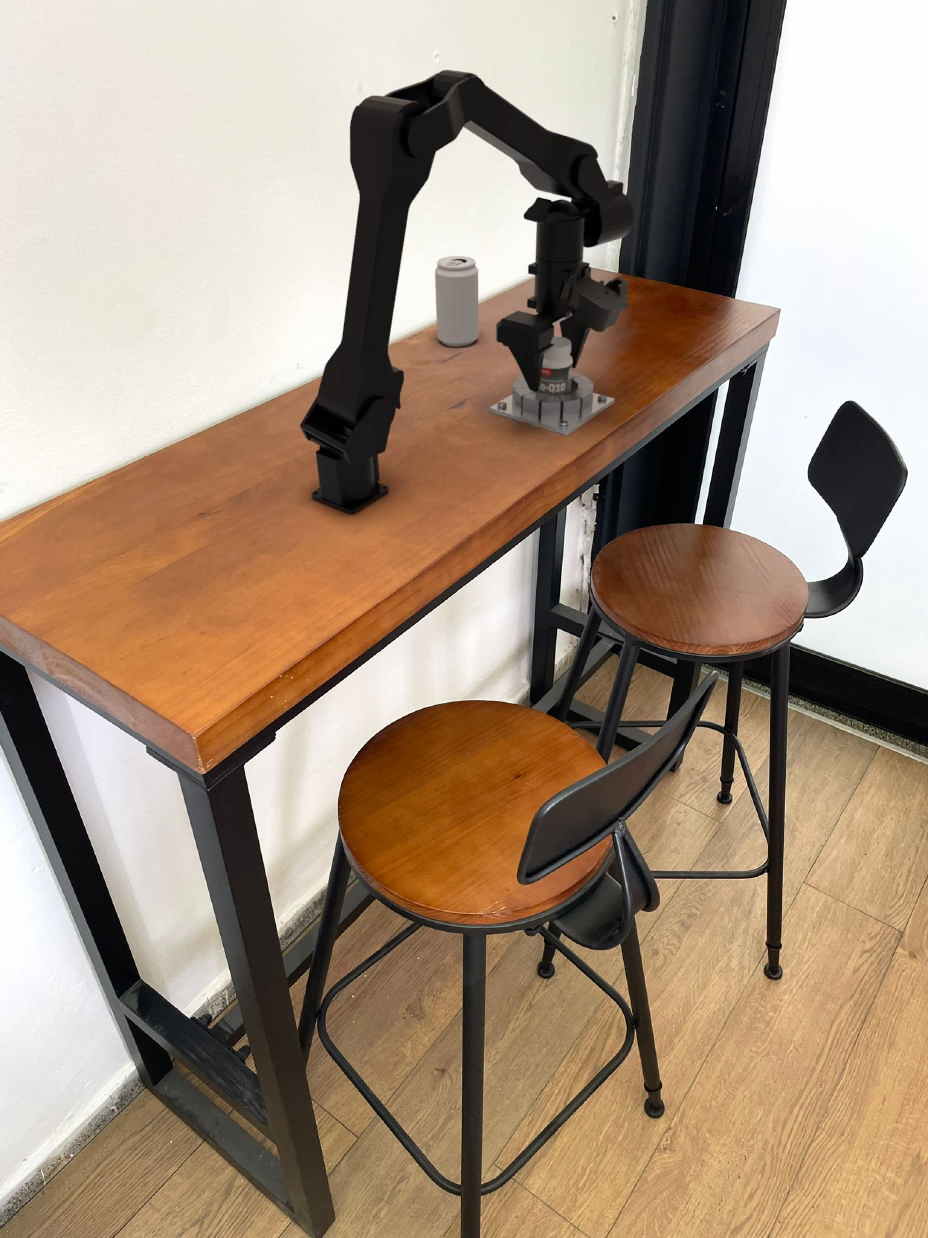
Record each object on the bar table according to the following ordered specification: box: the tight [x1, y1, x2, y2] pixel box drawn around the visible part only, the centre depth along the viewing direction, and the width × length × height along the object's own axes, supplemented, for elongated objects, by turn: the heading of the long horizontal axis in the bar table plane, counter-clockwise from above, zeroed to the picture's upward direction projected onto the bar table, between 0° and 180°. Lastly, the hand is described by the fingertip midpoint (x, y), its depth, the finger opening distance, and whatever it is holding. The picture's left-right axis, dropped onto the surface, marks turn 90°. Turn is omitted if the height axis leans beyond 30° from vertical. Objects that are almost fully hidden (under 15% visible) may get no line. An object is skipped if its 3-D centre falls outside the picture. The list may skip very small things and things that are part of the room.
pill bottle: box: [535, 336, 573, 396], centre depth 120 cm, size 5×5×8 cm
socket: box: [488, 371, 615, 436], centre depth 122 cm, size 12×12×3 cm
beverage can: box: [434, 255, 480, 348], centre depth 139 cm, size 6×6×12 cm
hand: (553, 378), depth 120 cm, fingers open, 9 cm apart
